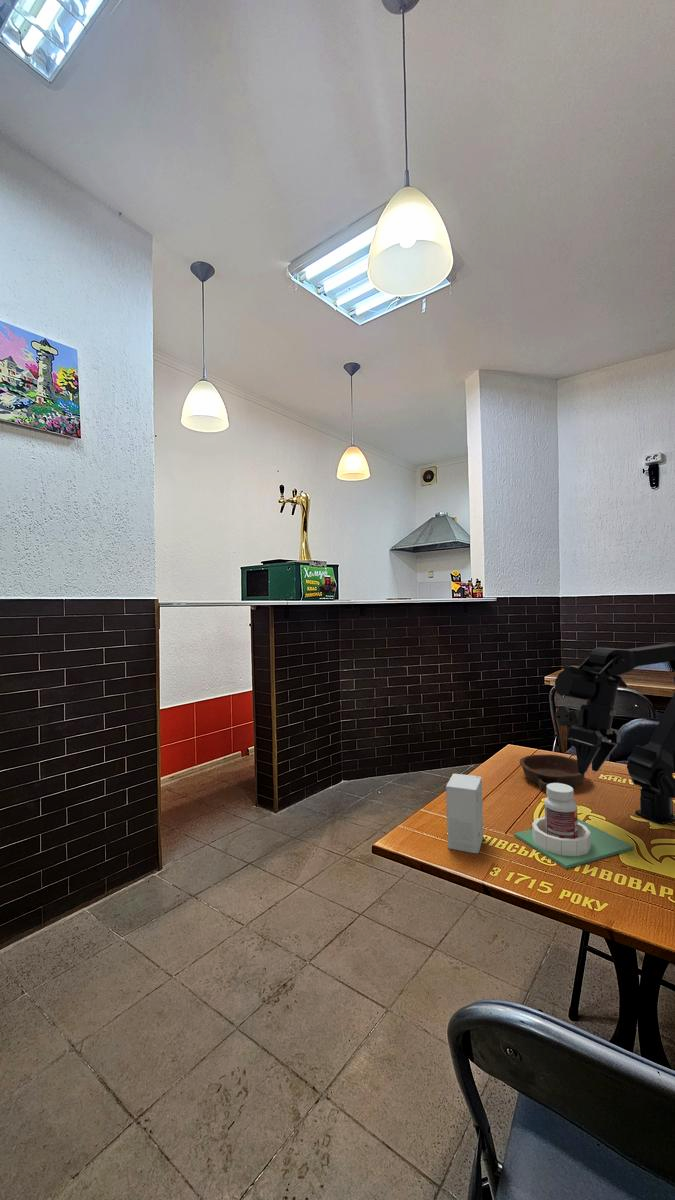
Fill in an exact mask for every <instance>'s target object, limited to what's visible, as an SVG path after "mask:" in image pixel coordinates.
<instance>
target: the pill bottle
mask: <svg viewBox="0 0 675 1200" xmlns="http://www.w3.org/2000/svg"><path fill="white" fill-rule="evenodd" d="M545 792H546V796H547V797H546V798H545V799H544V817H545V833H546V834H548V835H551V836H555V837H558V838H566V839H575V838H578V819H579V818H578V804H577V803H576V801H575V791H574V788H572V787H571V786H569V785H566V784H561V783H550V784H548V785H547V790H546V791H545Z"/></svg>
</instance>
